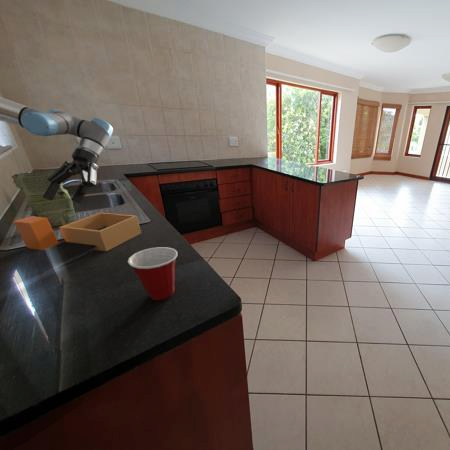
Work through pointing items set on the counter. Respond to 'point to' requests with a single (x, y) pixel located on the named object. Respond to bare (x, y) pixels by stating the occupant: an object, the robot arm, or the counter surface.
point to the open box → (106, 238)
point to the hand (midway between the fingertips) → (61, 200)
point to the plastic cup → (156, 270)
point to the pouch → (34, 191)
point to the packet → (36, 232)
